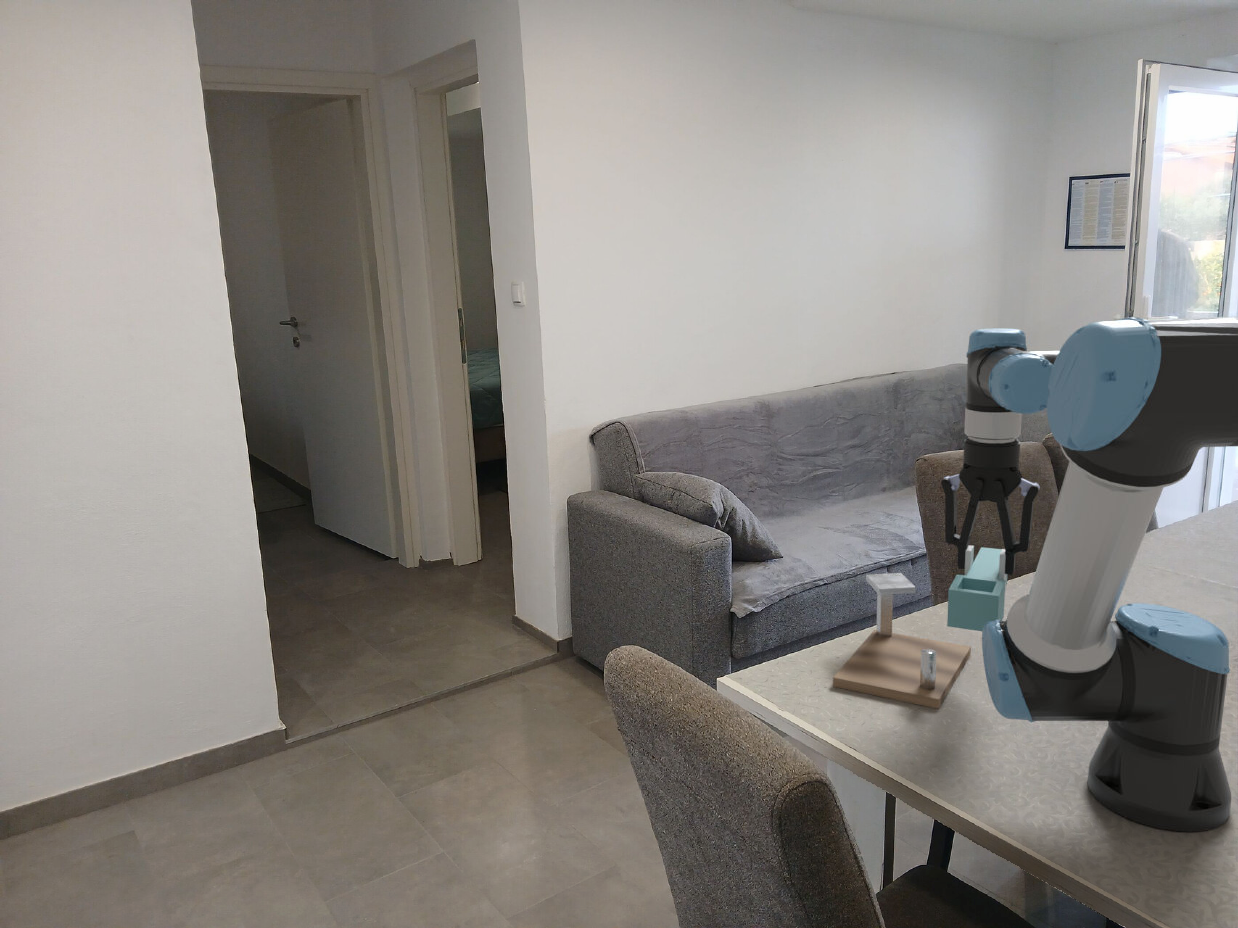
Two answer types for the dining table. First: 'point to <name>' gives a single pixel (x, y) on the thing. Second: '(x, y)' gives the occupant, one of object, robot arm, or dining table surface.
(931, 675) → the cylinder
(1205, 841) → the dining table surface
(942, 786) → the dining table surface
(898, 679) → the board
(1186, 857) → the dining table surface
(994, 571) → the link
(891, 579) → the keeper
